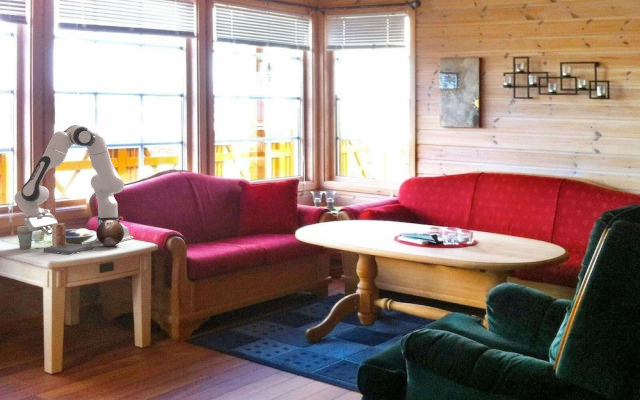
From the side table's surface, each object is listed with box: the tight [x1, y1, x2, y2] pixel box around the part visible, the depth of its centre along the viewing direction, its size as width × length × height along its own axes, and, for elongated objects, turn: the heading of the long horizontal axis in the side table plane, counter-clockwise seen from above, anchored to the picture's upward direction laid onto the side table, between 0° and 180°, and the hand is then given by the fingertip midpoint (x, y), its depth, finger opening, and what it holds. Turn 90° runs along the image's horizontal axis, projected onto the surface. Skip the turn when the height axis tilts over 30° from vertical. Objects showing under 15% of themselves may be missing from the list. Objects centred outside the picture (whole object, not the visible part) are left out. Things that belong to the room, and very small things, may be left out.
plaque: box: [51, 222, 67, 247], centre depth 446 cm, size 8×3×12 cm, turn 158°
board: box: [42, 242, 93, 255], centre depth 445 cm, size 18×18×2 cm
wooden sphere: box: [95, 220, 124, 247], centre depth 459 cm, size 15×15×15 cm
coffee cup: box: [16, 225, 33, 250], centre depth 449 cm, size 8×8×12 cm
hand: (50, 234), depth 448 cm, fingers closed
